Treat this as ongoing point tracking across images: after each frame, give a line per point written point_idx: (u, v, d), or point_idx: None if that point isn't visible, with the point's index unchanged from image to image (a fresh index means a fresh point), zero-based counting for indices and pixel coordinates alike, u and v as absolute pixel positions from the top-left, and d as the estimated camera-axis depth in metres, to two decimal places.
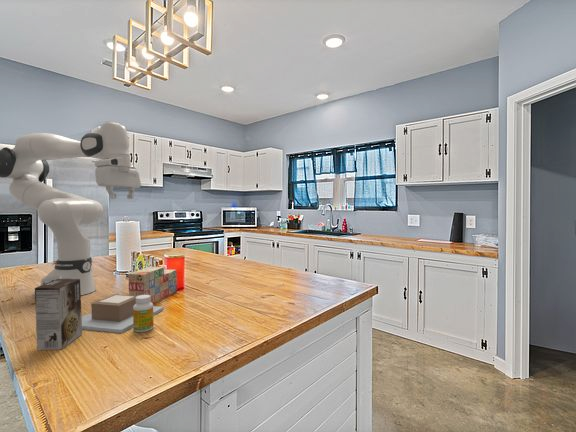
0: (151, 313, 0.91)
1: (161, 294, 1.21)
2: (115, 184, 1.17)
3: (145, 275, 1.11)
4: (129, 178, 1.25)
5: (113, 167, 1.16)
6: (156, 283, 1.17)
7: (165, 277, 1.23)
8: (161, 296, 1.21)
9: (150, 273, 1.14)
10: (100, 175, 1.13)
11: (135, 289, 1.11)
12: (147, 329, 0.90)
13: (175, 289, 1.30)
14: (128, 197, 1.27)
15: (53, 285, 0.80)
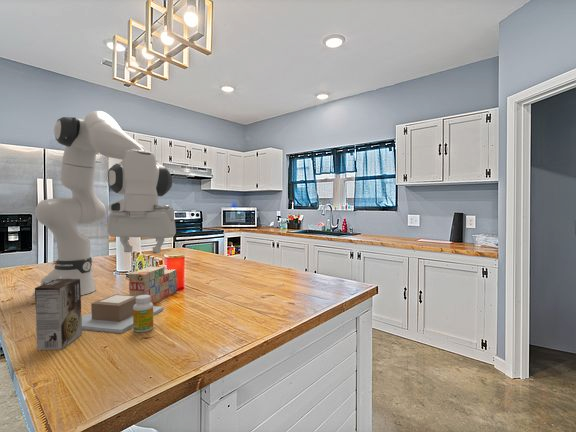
0: (151, 313, 0.91)
1: (161, 294, 1.21)
2: (123, 235, 0.90)
3: (145, 275, 1.11)
4: (147, 225, 0.88)
5: (117, 213, 0.89)
6: (157, 282, 1.18)
7: (165, 277, 1.23)
8: (161, 296, 1.21)
9: (150, 273, 1.14)
10: None
11: (135, 289, 1.11)
12: (147, 329, 0.90)
13: (175, 289, 1.30)
14: None
15: (53, 285, 0.80)
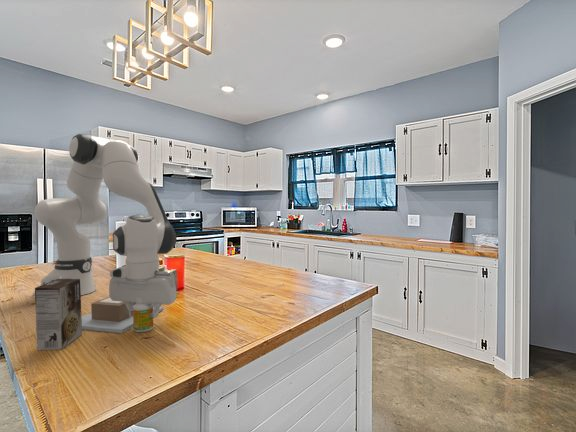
0: None
1: None
2: (124, 300, 0.91)
3: None
4: (148, 292, 0.89)
5: (118, 279, 0.90)
6: None
7: None
8: None
9: None
10: None
11: None
12: (147, 329, 0.90)
13: None
14: None
15: (53, 285, 0.80)
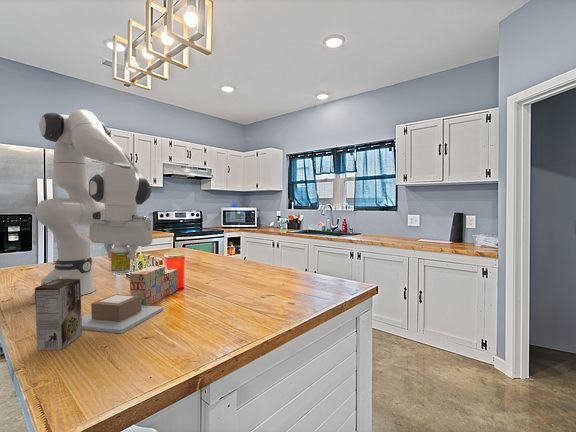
0: None
1: (162, 293, 1.21)
2: (103, 241, 0.97)
3: (146, 274, 1.12)
4: (125, 234, 0.95)
5: (98, 222, 0.96)
6: (157, 282, 1.18)
7: (166, 276, 1.24)
8: (162, 295, 1.21)
9: (151, 272, 1.14)
10: None
11: (136, 288, 1.12)
12: (124, 270, 0.96)
13: (175, 288, 1.31)
14: None
15: (53, 285, 0.80)
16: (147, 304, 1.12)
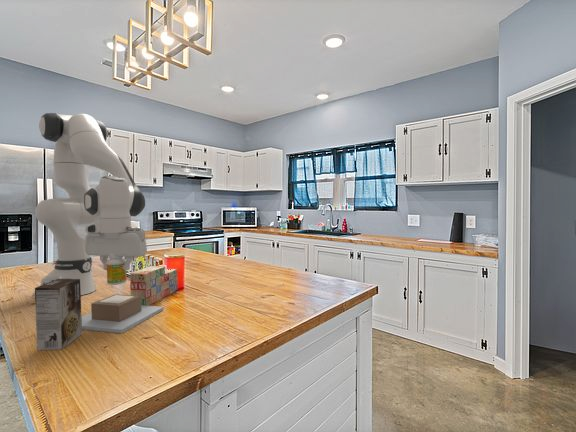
0: None
1: (162, 293, 1.22)
2: (99, 254, 0.99)
3: (147, 274, 1.12)
4: (120, 245, 0.97)
5: (93, 235, 0.98)
6: (158, 282, 1.18)
7: (166, 276, 1.24)
8: (162, 295, 1.22)
9: (151, 272, 1.15)
10: None
11: (136, 288, 1.12)
12: (120, 282, 0.98)
13: (176, 288, 1.31)
14: None
15: (53, 285, 0.80)
16: (147, 304, 1.12)
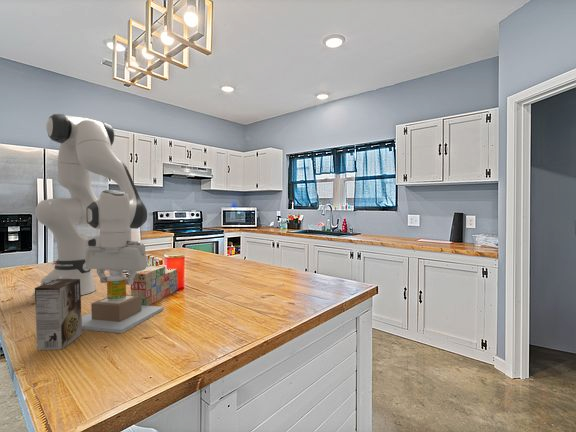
0: (124, 284, 1.00)
1: (162, 293, 1.22)
2: (99, 267, 0.99)
3: (147, 274, 1.12)
4: (120, 259, 0.97)
5: (93, 248, 0.98)
6: (158, 282, 1.18)
7: (166, 276, 1.24)
8: (162, 295, 1.22)
9: (152, 272, 1.15)
10: None
11: (137, 288, 1.12)
12: (120, 298, 0.99)
13: (176, 288, 1.31)
14: None
15: (53, 285, 0.80)
16: (148, 304, 1.13)
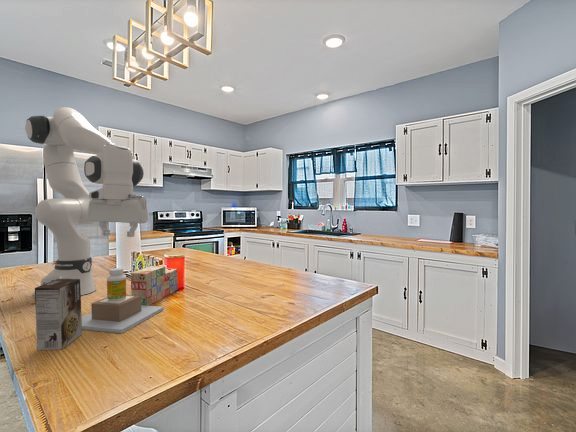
0: (124, 284, 1.00)
1: (162, 293, 1.22)
2: (101, 220, 1.02)
3: (147, 274, 1.12)
4: (122, 212, 1.00)
5: (96, 201, 1.01)
6: (158, 282, 1.19)
7: (166, 276, 1.25)
8: (162, 295, 1.22)
9: (152, 272, 1.15)
10: None
11: (137, 288, 1.12)
12: (120, 298, 0.99)
13: (176, 288, 1.31)
14: None
15: (53, 285, 0.80)
16: (148, 304, 1.13)
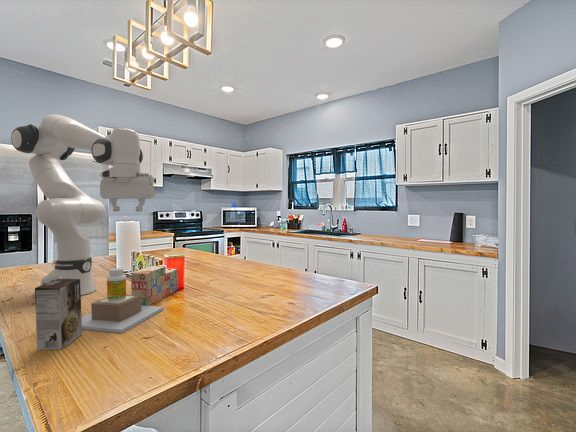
0: (124, 284, 1.00)
1: (163, 293, 1.22)
2: (112, 197, 1.12)
3: (148, 274, 1.12)
4: (131, 188, 1.10)
5: (107, 179, 1.11)
6: (158, 281, 1.19)
7: (166, 276, 1.25)
8: (163, 295, 1.22)
9: (152, 272, 1.15)
10: None
11: (137, 288, 1.12)
12: (120, 298, 0.99)
13: (176, 288, 1.32)
14: None
15: (53, 285, 0.80)
16: (148, 303, 1.13)
